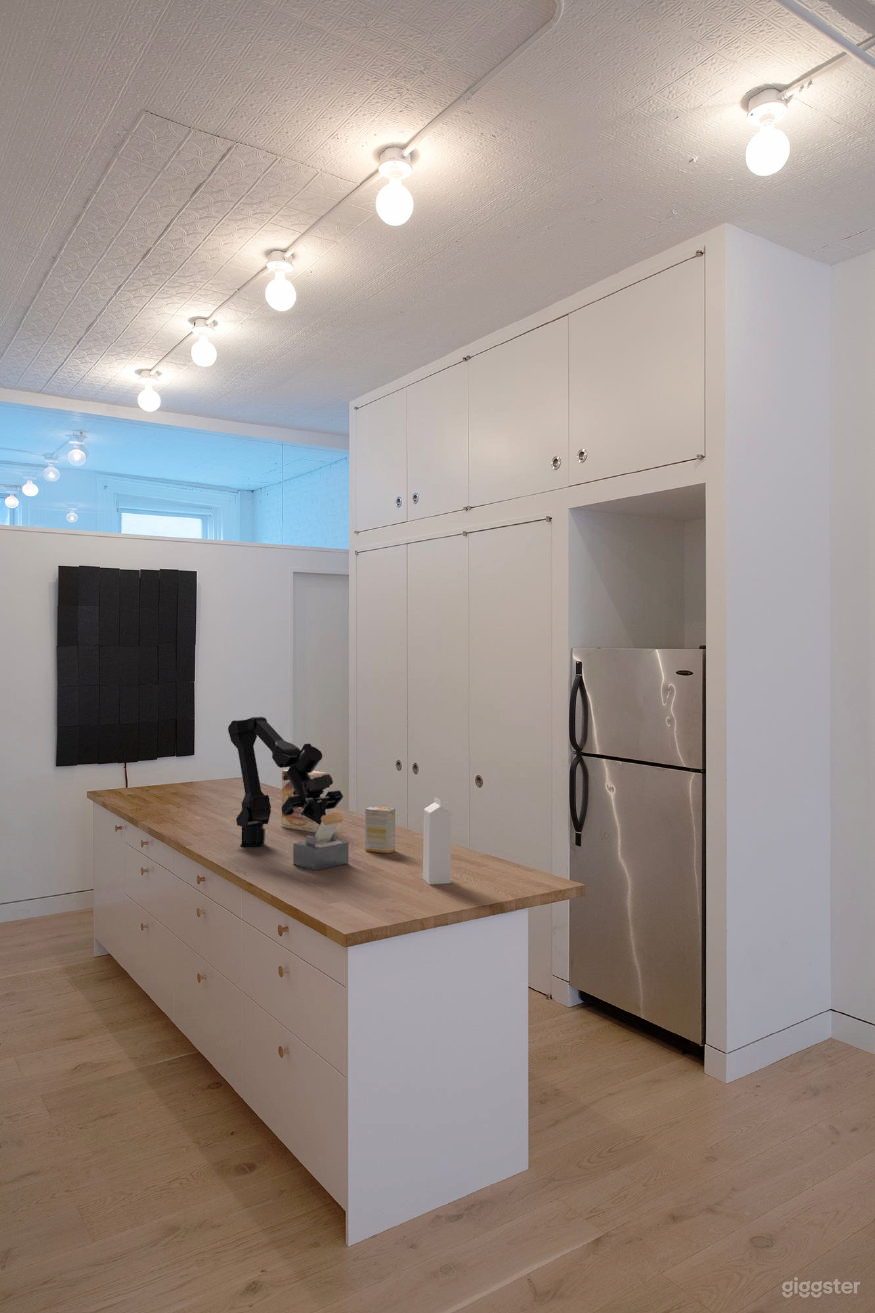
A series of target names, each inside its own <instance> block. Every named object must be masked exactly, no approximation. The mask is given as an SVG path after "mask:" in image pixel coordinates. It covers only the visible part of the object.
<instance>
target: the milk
mask: <svg viewBox="0 0 875 1313" xmlns="http://www.w3.org/2000/svg"><path fill="white" fill-rule="evenodd" d="M422 842H423V844H422V845H423V848H422V849H423V850H422V851H423V852H422V854H423V856H422V858H423V861H422V862H423V863H422V864H423V865H422V880H424V881H425V882H426V883H427V885H433V886H434V885H443V884H446V885H447V884H451V882H452V881H451V880H452V879H451V874H452V873H451V871H452V868H451V867H452V863H451V862H452V811H451V810H449V809H447V808H445V807H444V806H442V800H441V799H439V798H437V797H436V796H435V797H434V802H433V803H431V804H430V805H428V806H426V807H425V808H423V841H422Z"/></svg>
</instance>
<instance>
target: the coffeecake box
mask: <svg viewBox="0 0 875 1313" xmlns="http://www.w3.org/2000/svg"><path fill="white" fill-rule="evenodd" d="M285 771H288V769H284V770H283V769H282V771H281V807H282V806H283V804H284V803H285V801H286V800H287V799H288V797H291V796H297V795H294V794H293V791H294V788H293V786H292V784H291V782H290V780H285V781H284V780H283V777H284V775H285ZM308 774H309V776H310V778H311V779H314V778H316V777H322V776H324V775H326V774H328V772H327V771H325V772H323V771H317V770H313V771H312V772H311V773H308ZM323 791H324V792H323V794H321V795H320V796H321V797H325V795H326V794H327V793H328V787H327V788H326V789H324V790H323ZM293 810H294V812H293V814H292V815H288V816H284V814H283V812H282V811H281V826H280V827H282V828H287V829H293V830H300V831H304V830H305V831H304V832H310V833H316V832H317V830H318V828H319V826H320V825H319V824H317V823H316V822H314V821H313V820H311V819H309V818H308V817H306V816H304V815H303V816H302V815H301V813H302V811H303V810H302V808H293ZM327 812H328V809H327V810H326V815H328V814H327Z"/></svg>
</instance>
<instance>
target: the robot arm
mask: <svg viewBox="0 0 875 1313" xmlns="http://www.w3.org/2000/svg"><path fill="white" fill-rule="evenodd" d="M227 731H228V735H229V739H230V741H231V743H232V744H233V745H234V747H235V748H236V749H237V754H238V758H239V764H240V771H241V777H242V784H243V789H244V796H243V799H242V801H241V811H240V813H238V815H237V817H236V819H235V822H236V825H237V827H241V843H240V847H262V846H263V845H264V843H265V842H266V828H264V825H268V824H269V822H270V817H271V813H272V809H271V808H272V806H271V805H272V804H271V802H270V796H269V794H265V793H263V791H262V787H261V782H260V776H259V769H258V764H257V760H256V751H255V743H256V740H257V738H259V739H260V740H261V741H262V742H263V743H264V745H265V746H267V748H268V749H269V750H270V752H271V758H272V760H273V762H274V763H275V765H276V766H277V767H278V768H280V769H282V768H288V769H287V770H288V771H285V775H284V777H283V780H284V781H285V780H290V782H291V784H292V786H293V788H294V791H293V794H294V795H297V796H291V797H288V799H287V800H286V801H285V803H284V804H283V806H282V805H281V813H282V812H283V814H284V816H288V815H292V814H293V812H294V810H293V808H302V810H303V811H302V813H301V815H302V816H303V815H304V816H306V817H308V818H309V819H311V820H313V821H314V822H316V823H317V824H319V825H320V824H321V822H322V821H321V817H322V816H323V815H326V810H327V811H328V810H332V809H335V808H337V806H338V804H339V803H340V801H341V800H342V799H343V798H344V795H343V794H342V792H341V790H338V789H337V790H329V791H328V790H327V794H326V795H325V797H321V796H320V795H321V794H323V792H324V791H323V790H324V789H326V788H327V789H328V788H330V787H331V785H333V783H334V780H333V777H331V775H330V774H329V773H327V774H326V775H324V776H322V777H316V778H314V779H311V778H310V776H309V774H308V773H311V772H312V771H315V769H316V768H317V766H318V765H319V764H320V762H321V760H322V759H323V753H322V751H321V750H319V748H317V747H315V746H313V745H312V744H311V743H304V744H303V746H302V748H301V749H300V748H299V747H298V746H297V745H295V744H294V743H291V742H288V741H286V740H285V739H283V737H281V735H280V734H279V733H278V732H277V731H276V730H275V729H274V727H272V726H271V724H270V723H268V720H267V718H266V717H264V716H252V717H250V718H247V719H238V720H236V719H235V720H232V721H231V723H230V724H229V725H228V728H227Z"/></svg>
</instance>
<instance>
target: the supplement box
mask: <svg viewBox="0 0 875 1313" xmlns="http://www.w3.org/2000/svg"><path fill="white" fill-rule="evenodd" d="M364 810H365V811H364V813H365V817H364V818H365V819H364V820H365V828H364V830H365V833H364V834H365V835H364V837H365V839H364V841H365V846H364V848H365V849H364V851H365V852H371V853H379V854H381V853H382V854H391V853H393V852H395V851H396V808H393V807H385V806H383V807H382V806H370V807H367V808H365V809H364Z"/></svg>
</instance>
